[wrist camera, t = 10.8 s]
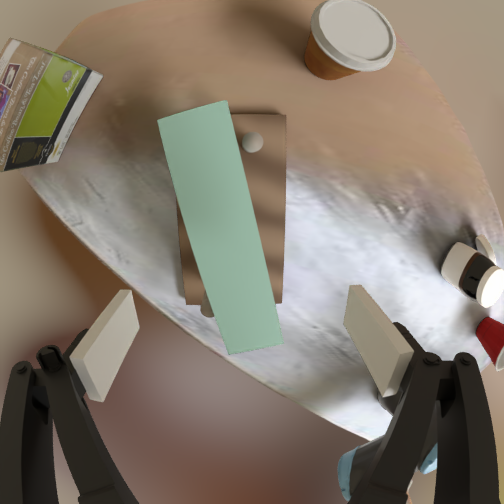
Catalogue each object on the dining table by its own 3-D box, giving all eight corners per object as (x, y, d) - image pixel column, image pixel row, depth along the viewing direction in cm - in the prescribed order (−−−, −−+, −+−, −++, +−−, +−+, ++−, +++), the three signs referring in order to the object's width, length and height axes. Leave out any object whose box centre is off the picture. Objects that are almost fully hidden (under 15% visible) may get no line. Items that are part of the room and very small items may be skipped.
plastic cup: (499, 318, 48) (526, 341, 36) (475, 349, 50) (499, 376, 39) (491, 299, 45) (522, 324, 34) (464, 334, 48) (492, 363, 37)
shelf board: (279, 322, 32) (283, 343, 28) (229, 333, 32) (228, 354, 28) (228, 107, 24) (226, 99, 20) (168, 124, 24) (157, 120, 20)
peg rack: (280, 298, 42) (290, 335, 33) (187, 299, 41) (175, 337, 32) (284, 116, 33) (299, 103, 24) (176, 119, 32) (155, 108, 23)
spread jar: (430, 269, 41) (469, 300, 30) (458, 214, 38) (503, 234, 27) (460, 291, 44) (495, 319, 33) (486, 243, 40) (524, 264, 29)
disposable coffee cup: (278, 62, 30) (295, 26, 19) (316, 21, 28) (342, -19, 16) (335, 104, 32) (375, 86, 21) (369, 61, 30) (412, 36, 18)
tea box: (66, 57, 27) (8, 34, 13) (106, 76, 29) (47, 49, 15) (24, 138, 31) (-38, 144, 17) (58, 164, 33) (-8, 176, 19)
